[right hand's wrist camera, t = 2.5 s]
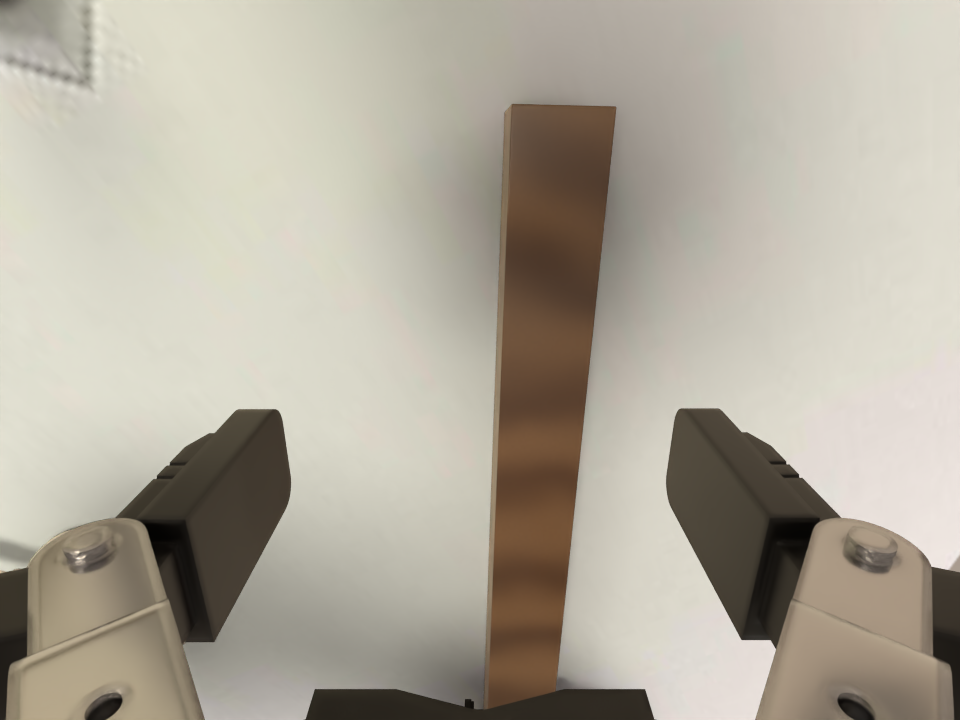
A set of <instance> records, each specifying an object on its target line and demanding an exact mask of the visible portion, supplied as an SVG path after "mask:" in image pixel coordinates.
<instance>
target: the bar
mask: <svg viewBox="0 0 960 720" xmlns="http://www.w3.org/2000/svg"><path fill="white" fill-rule="evenodd" d="M615 115H616V107H614V106H574V105H534V104H512V105H511V106H510V107H509V108H508V109H507V110H506V112H505V117H504V145H503V173H502V201H501V229H500V257H499V285H498V313H497V341H496V369H495V397H494V425H493V453H492V481H491V510H490V538H489V566H488V594H487V622H486V650H485V678H484V706H483V709H489V708H493V707H497V706H501V705H505V704H509V703H513V702H517V701H520V700H524V699H528V698H532V697H536V696H540V695H544V694H548V693H552V692H555V691H556V681H557V672H558V662H559V652H560V643H561V633H562V624H563V614H564V604H565V595H566V585H567V576H568V566H569V556H570V547H571V537H572V528H573V518H574V508H575V499H576V489H577V480H578V470H579V460H580V451H581V441H582V432H583V422H584V413H585V403H586V393H587V384H588V374H589V365H590V355H591V345H592V336H593V326H594V317H595V307H596V297H597V288H598V278H599V269H600V259H601V249H602V240H603V230H604V221H605V211H606V201H607V192H608V182H609V173H610V163H611V154H612V144H613V134H614V125H615Z"/></svg>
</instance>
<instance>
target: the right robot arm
mask: <svg viewBox="0 0 960 720" xmlns="http://www.w3.org/2000/svg"><path fill="white" fill-rule="evenodd" d="M666 488H667V495H668V500H669V503H670V506H671V508H672V510H673V512H674V514H675V516H676V518H677V519H678V521H679V523H680V525H681V527H682V529H683V531H684V533H685V535H686V536H687V538H688V540H689V542H690V544H691V546H692V548H693V550H694V551H695V553H696V555H697V557H698V559H699V561H700V563H701V565H702V566H703V568H704V570H705V572H706V574H707V576H708V578H709V580H710V582H711V583H712V585H713V587H714V589H715V591H716V593H717V595H718V597H719V598H720V600H721V602H722V604H723V606H724V608H725V610H726V612H727V613H728V615H729V617H730V619H731V621H732V623H733V625H734V627H735V629H736V630H737V632H738V634H739V636H740V638H741V640H771V641H772V643H773V645H774V646H775V648H776V652H775V655H774V659H773V662H772V665H771V669H770V672H769V675H768V679H767V682H766V685H765V689H764V692H763V695H762V699H761V702H760V706H759V709H758V712H757V716H756V719H755V720H960V572H955V571H950V570H945V569H940V568H935V567H931V565H930V563H929V561H928V559H927V558H926V556H925V555H924V554H923V553H922V552H921V551H920V550H919V549H918V548H917V547H916V546H915V545H913V544H912V543H911V542H909V541H908V540H906V539H905V538H903V537H901V536H900V535H898V534H896V533H894V532H892V531H890V530H888V529H885V528H883V527H880V526H878V525H875V524H872V523H868V522H865V521H860V520H855V519H848V518H841V517H840V516H839V515H838V514H837V513H836V512H835V511H834V510H833V509H832V508H831V507H830V506H829V505H828V504H827V503H826V502H825V501H824V500H823V499H822V498H821V497H820V496H819V495H818V493H817V492H816V491H815V490H814V489H813V488H812V487H811V486H810V485H809V484H808V483H807V482H806V481H805V480H804V479H803V478H799V474H798V473H797V472H796V471H795V470H794V469H793V468H792V467H791V466H790V465H786V461H785V460H784V459H783V458H782V457H781V456H780V455H779V454H778V453H777V452H776V451H775V449H774V448H773V447H772V446H770V445H769V444H767V443H765V442H763V441H762V440H760V439H758V438H756V437H754V436H753V435H751V434H749V433H747V432H741V431H740V430H739V429H738V428H737V427H736V426H735V425H734V423H733V422H732V421H731V420H730V419H729V418H728V417H727V416H726V415H725V414H724V413H723V411H721V410H720V409H679V410H678V412H677V414H676V416H675V420H674V427H673V434H672V441H671V448H670V455H669V462H668V469H667V476H666ZM290 491H291V476H290V469H289V462H288V455H287V448H286V441H285V434H284V427H283V421H282V417H281V415H280V413H279V411H278V410H276V409H238V410H236V411H235V412H234V413H233V414H232V415H231V416H230V417H229V418H228V420H227V421H226V422H225V423H224V424H223V425H222V426H221V427H220V428H219V429H218V430H217V431H216V432H215V433H209V434H207V435H206V436H204V437H202V438H200V439H198V440H197V441H195V442H193V443H191V444H190V445H188V446H186V447H185V448H184V449H183V450H182V451H181V452H180V453H179V454H178V455H177V456H176V457H175V458H174V459H173V460H172V461H171V462H170V466H166V467H165V468H164V469H163V470H162V471H161V472H160V473H159V474H158V475H157V479H153V480H152V481H151V482H150V483H149V484H148V485H147V486H146V487H145V488H144V489H143V490H142V491H141V492H140V493H139V494H138V495H137V496H136V497H135V498H134V500H133V501H132V502H131V503H130V504H129V505H128V506H127V507H126V508H125V509H124V510H123V511H122V512H121V513H120V514H119V515H118V516H117V517H116V518H112V519H105V520H100V521H95V522H92V523H88V524H85V525H82V526H80V527H77V528H75V529H72V530H70V531H68V532H66V533H64V534H62V535H60V536H59V537H57V538H55V539H54V540H52V541H51V542H49V543H48V544H47V545H45V546H44V547H43V548H42V549H41V550H40V551H39V552H38V553H37V554H36V555H35V556H34V558H33V559H32V561H31V563H30V565H29V567H28V568H24V569H19V570H14V571H9V572H4V573H0V720H205V719H204V716H203V712H202V709H201V706H200V702H199V699H198V696H197V692H196V689H195V685H194V682H193V679H192V675H191V672H190V669H189V665H188V662H187V659H186V655H185V652H184V649H183V644H184V642H214V641H215V639H216V638H217V636H218V634H219V632H220V630H221V628H222V626H223V625H224V623H225V621H226V619H227V617H228V615H229V613H230V612H231V610H232V608H233V606H234V604H235V602H236V600H237V599H238V597H239V595H240V593H241V591H242V589H243V587H244V586H245V584H246V582H247V580H248V578H249V576H250V574H251V573H252V571H253V569H254V567H255V565H256V563H257V561H258V560H259V558H260V556H261V554H262V552H263V550H264V548H265V547H266V545H267V543H268V541H269V539H270V537H271V535H272V534H273V532H274V530H275V528H276V526H277V524H278V522H279V521H280V519H281V517H282V515H283V513H284V511H285V509H286V507H287V505H288V501H289V497H290ZM305 720H655V719H654V717H653V714H652V710H651V707H650V704H649V701H648V697H647V694H646V691H645V689H563V690H559V691H555V692H552V693H548V694H544V695H540V696H536V697H532V698H528V699H524V700H520V701H517V702H513V703H509V704H505V705H501V706H497V707H493V708H489V709H483V710H477V709H471V708H467V707H463V706H459V705H455V704H451V703H447V702H443V701H440V700H436V699H432V698H428V697H424V696H420V695H416V694H412V693H408V692H405V691H401V690H397V689H315V691H314V694H313V697H312V701H311V704H310V707H309V710H308V714H307V717H306V719H305Z"/></svg>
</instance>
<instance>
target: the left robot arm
mask: <svg viewBox="0 0 960 720" xmlns="http://www.w3.org/2000/svg"><path fill="white" fill-rule="evenodd" d="M69 531H70V530H69ZM66 532H68V531H65V532H63V533H61V534H59V535H57V536H55V537H54V538H52V539H50V540H49V541H48V542H47V543H46V544H45V545H47V544H48V543H49V542H51V541H52V540H54V539H55V538H57V537H59V536H60V535H62V534H64V533H66ZM45 545H44V546H45ZM44 546H43V547H44ZM43 547H41V548H40V549H39V550H38V551H37V552H36V553H35V555H36V554H37V553H38V552H39V551H40V550H41V549H42V548H43ZM35 555H34V556H35ZM34 556H33V557H32V558H31V559H30V561H29V564H28V566H27V568H28V567H29V565H30V563H31V561H32V559H33V558H34ZM19 569H20V568H18V569H14V570H19ZM14 570H13V571H14ZM4 572H5V571H1V570H0V573H4ZM184 644H185V642H184ZM184 644H183V645H184ZM465 707H467V708H471V709H474V701H471V699H465Z"/></svg>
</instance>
